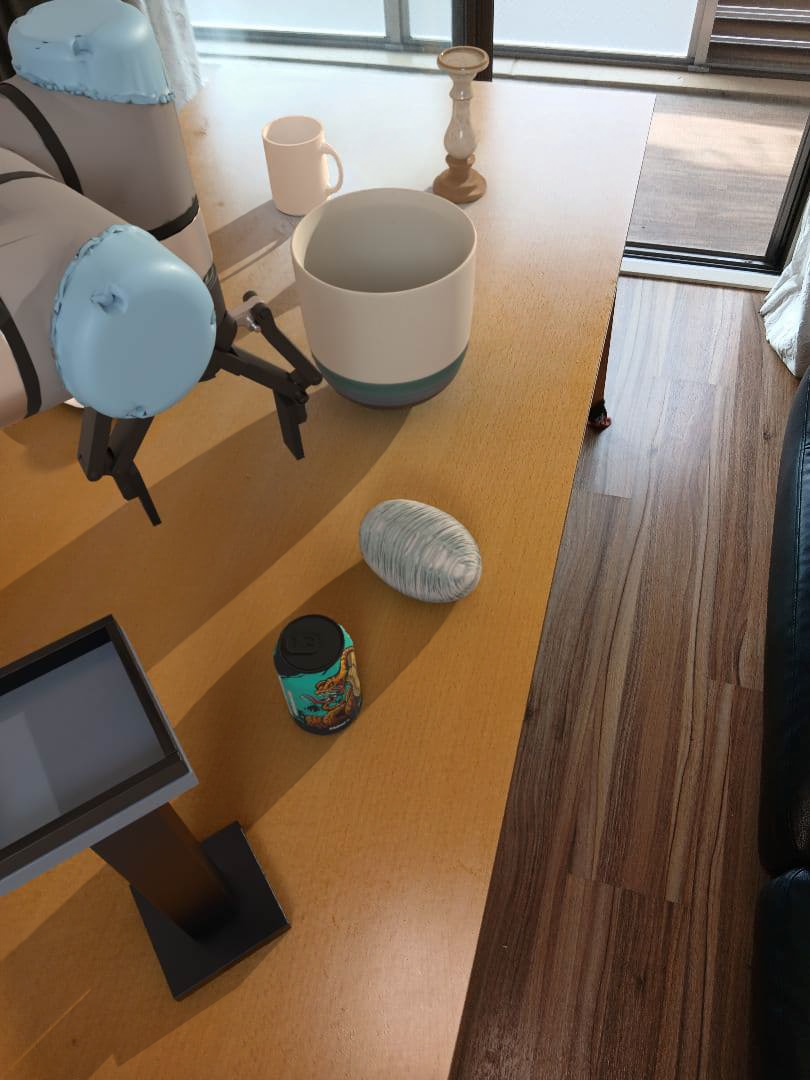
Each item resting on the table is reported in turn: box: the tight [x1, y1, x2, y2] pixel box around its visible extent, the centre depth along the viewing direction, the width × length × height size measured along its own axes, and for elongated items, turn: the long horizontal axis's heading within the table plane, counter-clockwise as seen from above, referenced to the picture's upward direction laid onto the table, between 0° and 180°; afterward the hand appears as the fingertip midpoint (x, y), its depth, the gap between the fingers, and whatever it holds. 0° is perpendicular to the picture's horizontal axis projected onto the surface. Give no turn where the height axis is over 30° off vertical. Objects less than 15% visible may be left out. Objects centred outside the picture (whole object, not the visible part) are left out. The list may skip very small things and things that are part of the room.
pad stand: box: [0, 613, 292, 1003], centre depth 54 cm, size 10×10×36 cm
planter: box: [289, 187, 478, 412], centre depth 97 cm, size 20×20×21 cm
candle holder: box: [432, 45, 490, 204], centre depth 126 cm, size 9×9×20 cm
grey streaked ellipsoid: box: [358, 498, 483, 604], centre depth 85 cm, size 14×10×10 cm
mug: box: [261, 114, 344, 217], centre depth 128 cm, size 10×12×12 cm
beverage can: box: [272, 613, 363, 736], centre depth 74 cm, size 7×7×12 cm
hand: (225, 481), depth 71 cm, fingers open, 13 cm apart
